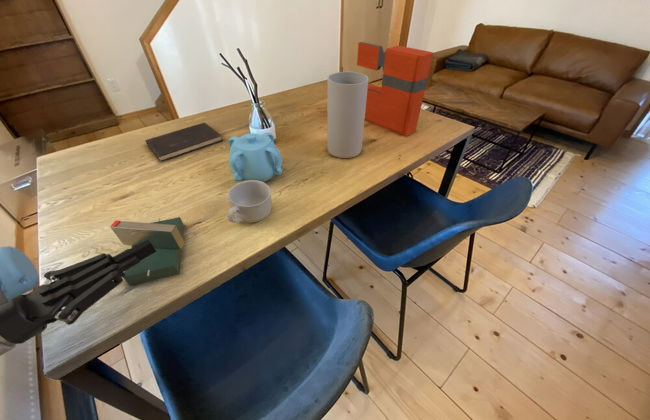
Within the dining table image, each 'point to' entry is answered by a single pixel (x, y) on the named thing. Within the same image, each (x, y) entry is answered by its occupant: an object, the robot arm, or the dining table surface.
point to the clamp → (395, 85)
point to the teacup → (249, 201)
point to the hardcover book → (183, 141)
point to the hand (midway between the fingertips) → (152, 245)
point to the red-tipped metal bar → (148, 234)
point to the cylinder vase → (346, 113)
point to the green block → (157, 260)
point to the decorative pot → (254, 157)
